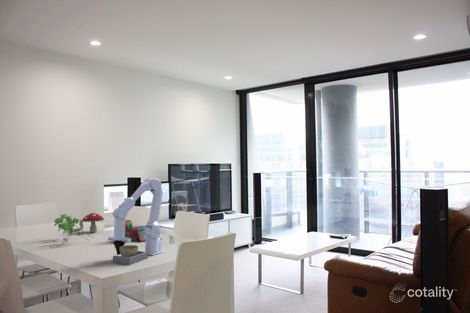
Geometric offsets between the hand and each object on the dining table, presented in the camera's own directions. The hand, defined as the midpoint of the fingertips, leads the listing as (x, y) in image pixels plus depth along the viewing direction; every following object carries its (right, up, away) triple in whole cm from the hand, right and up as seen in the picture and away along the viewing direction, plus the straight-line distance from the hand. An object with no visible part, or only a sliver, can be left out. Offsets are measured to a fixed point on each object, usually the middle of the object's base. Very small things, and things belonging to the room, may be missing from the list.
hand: (119, 254), depth 205 cm
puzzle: (-2, -4, +53) cm, 54 cm away
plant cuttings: (-46, -4, +48) cm, 67 cm away
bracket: (+7, -2, -3) cm, 8 cm away
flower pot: (+6, -3, -3) cm, 7 cm away
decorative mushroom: (-46, -5, +81) cm, 93 cm away
